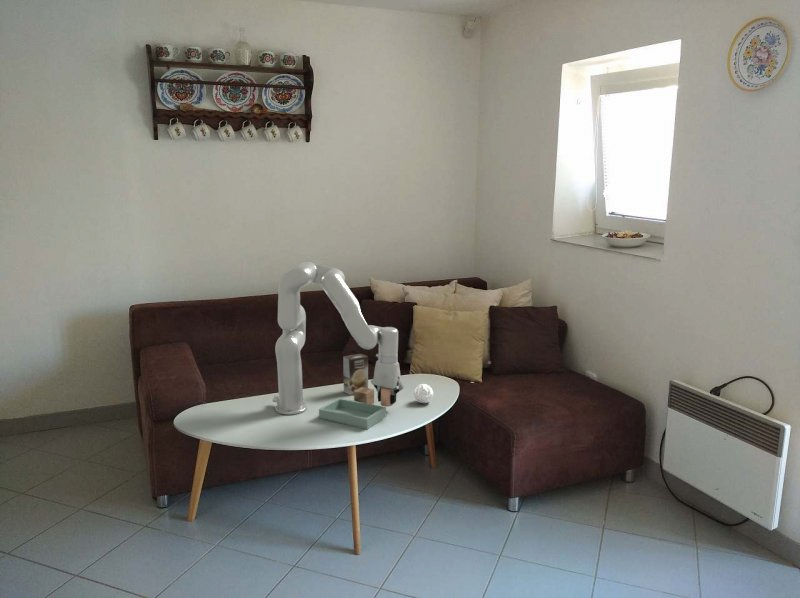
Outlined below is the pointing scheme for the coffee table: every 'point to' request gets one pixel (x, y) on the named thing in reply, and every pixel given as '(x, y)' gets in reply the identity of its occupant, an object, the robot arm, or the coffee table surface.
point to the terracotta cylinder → (385, 396)
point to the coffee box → (355, 372)
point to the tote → (352, 413)
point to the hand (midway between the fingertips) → (386, 401)
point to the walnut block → (364, 395)
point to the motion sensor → (423, 393)
